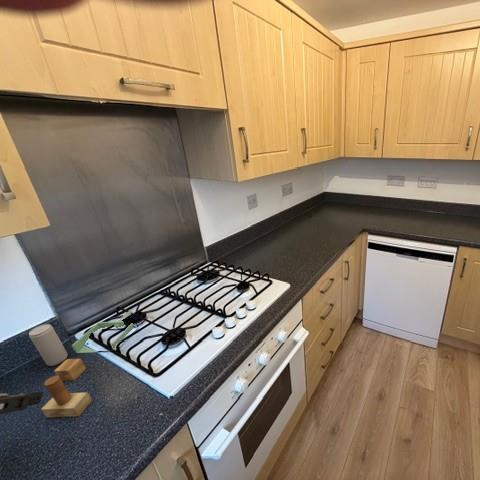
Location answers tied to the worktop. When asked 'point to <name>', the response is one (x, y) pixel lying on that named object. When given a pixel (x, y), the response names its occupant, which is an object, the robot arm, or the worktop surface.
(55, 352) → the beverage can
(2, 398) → the robot arm
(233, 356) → the worktop surface
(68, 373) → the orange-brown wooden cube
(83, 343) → the pale green curved piece
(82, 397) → the wooden t-shaped piece
